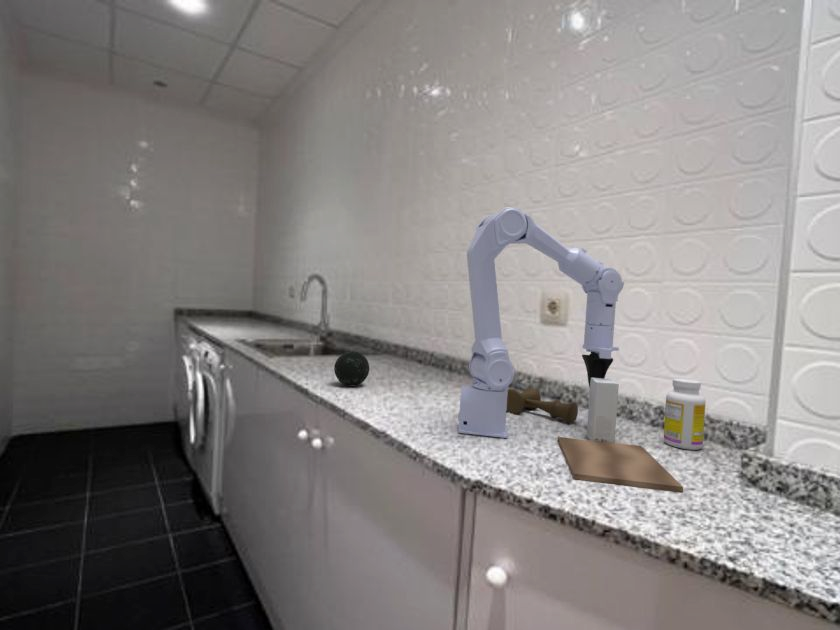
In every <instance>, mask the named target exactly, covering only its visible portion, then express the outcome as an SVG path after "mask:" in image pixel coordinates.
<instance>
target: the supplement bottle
mask: <svg viewBox="0 0 840 630" xmlns="http://www.w3.org/2000/svg"><path fill="white" fill-rule="evenodd" d="M701 384H702V382H700V381H698V380H695V379H686V378H673V379H672V386H673V390H670V391H669V392H667V394H666V396H665V406H664V407H665V410H664V425H663V441H664V443H665V444H666V445H669V446H671V447H674V448H677V449H678V448H679V449H682V450H688V451H689V450H691V451H697V450H700V449H702V448H703V443H704V432H705V431H704V430H705V415H706V399H705V397H704V396H703V395H702V394H700V390H701V388H702V387H701Z"/></svg>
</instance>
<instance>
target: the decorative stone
mask: <svg viewBox="0 0 840 630" xmlns="http://www.w3.org/2000/svg"><path fill="white" fill-rule="evenodd" d="M333 367H334V371H333V372H334V375H335V377H336V379H337V380H338V382H339V383H341V384H343V385H345V386H348V385H356V386H359V385H360V384H362V383H363V382H365V381H366V379H367V378H368V376H369V373H370V363H369V360H368V359H367V357H366V356H365V355H364V354H362V353H361V352H359V351H356V350H351V351H350V350H349V351H346V352H343V353H342V354H340V355H339V356H338V358H337V359H336V361H335V363H334V366H333Z"/></svg>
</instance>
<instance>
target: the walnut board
mask: <svg viewBox="0 0 840 630" xmlns="http://www.w3.org/2000/svg"><path fill="white" fill-rule="evenodd" d="M557 443H558V445H559V448H560V451H561V452H562V454H563V457H564V459H565V462H566V464H567V467H568V469H569V471H570V473H571V476H572V478H573V480H581V481H589V482H595V483H602V484H603V483H604V484H605V483H606V484H611V485H612V484H613V485H619V486H628V487H635V488H636V487H637V488H643V489H644V488H645V489H651V490H653V489H654V490H659V491H660V490H661V491H668V492H676V493H683V492H684V486H683V485H682V484H681V483H680V482H679V481H678V480H677V479H676V478H675V477H674V476H673V475H672V474H671V473H670V472H668V471H667V469H665V468H664V466H663V465H661V464H660V463H659V462H658V461H657V459H656V458H654V457H653V456H652V454H650V453H649V451H647V450H646V449H645V447H643V446H642V445H637V444H628V443H620V442H619V443H618V442H615V443H610V442H601V441H591V440H590V439H582V438H581V439H580V438H570V437H562V436H557Z"/></svg>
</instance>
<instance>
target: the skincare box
mask: <svg viewBox="0 0 840 630" xmlns="http://www.w3.org/2000/svg"><path fill="white" fill-rule="evenodd" d="M588 400H589V401H588V409H587V410H588V411H587V412H588V413H587V423H586V436H587V437H588V440H591V441H601V442H610V443H616V440H615V439H616V430H617V429H616V428H617V415H618V414H617V413H618V400H619V383H618V382H616V381H615V380H613V379H611V378H604V379H603V378H593V377H592V378H591V382H590V388H589V396H588Z"/></svg>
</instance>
